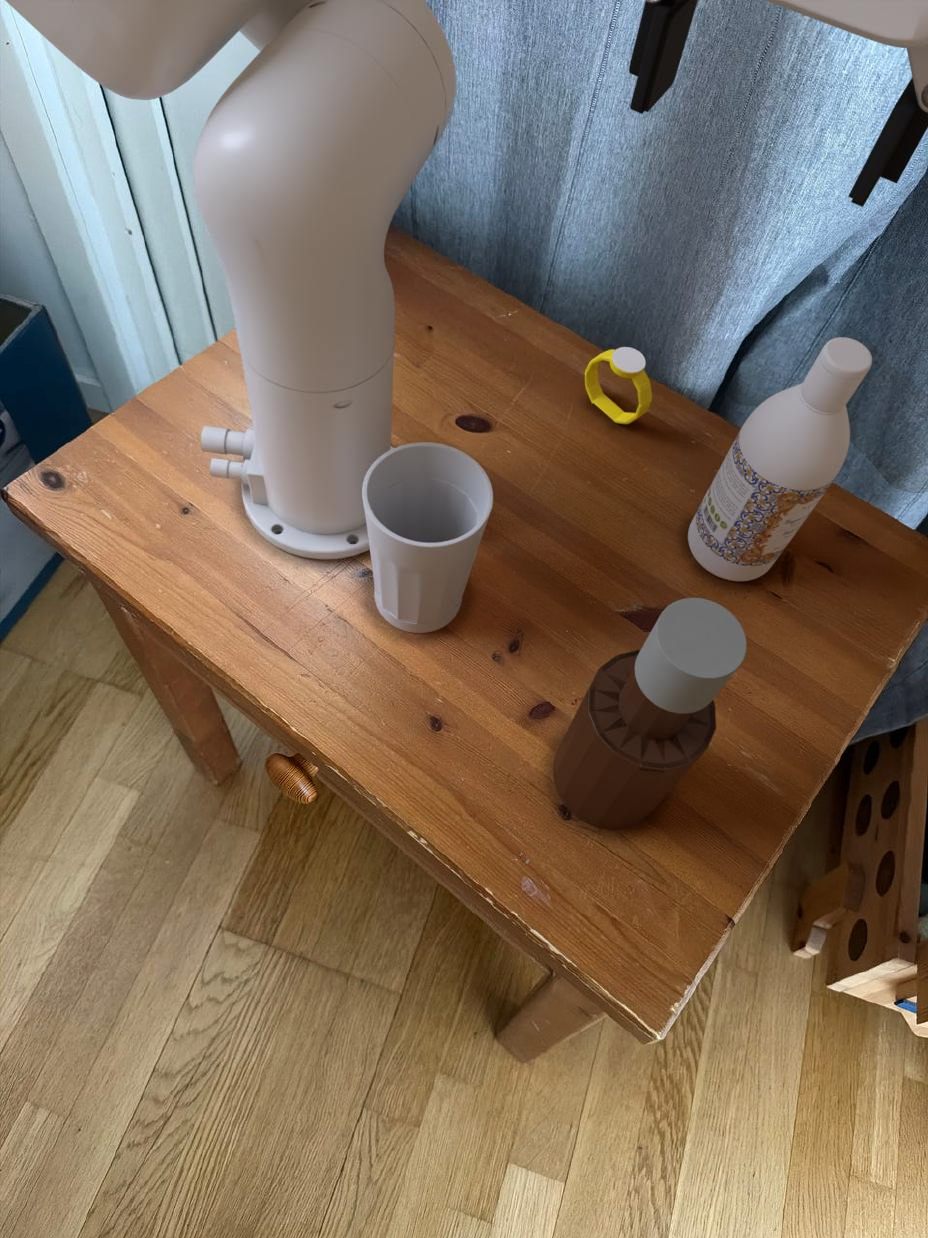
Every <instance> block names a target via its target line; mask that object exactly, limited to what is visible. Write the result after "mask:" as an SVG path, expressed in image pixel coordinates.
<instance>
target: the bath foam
mask: <svg viewBox="0 0 928 1238" xmlns="http://www.w3.org/2000/svg"><path fill="white" fill-rule="evenodd" d="M819 352H820V353H819V354H818V355H817V358H816V359H815V361H814V363H813V364H812V366H811V367H810V369H809V371H808V373H807V375H806V376H805V379H804V380H803V382H801V383H798V384H796V385H793V386H790V387H788V388H785V389H783V390H781V391H778V392H776V393H775V394H773V395H771V396H769V397H768V398H767V399H765V400H764V401H762V402H761V403H760V404H759V405H758V406H757V407H756V408H755V409H754V410H753V411H752V412H751V414H750V415H749V416H748V417H747V418H746V419H745V421H744V422H743V424H742V426H741V428H740V429H739V431H738V433H737V435H736V436H735V439H734V441H733V442H732V444H731V447H730V448H729V450H728V452H727V453H726V456H725V457H724V459H723V461H722V463H721V465H720V467H719V469H718V471H717V472H716V474H715V476H714V478H713V480H712V482H711V484H710V486H709V488H708V489H707V491H706V493H705V495H704V497H703V499H702V501H701V502H700V504H699V506H698V509H697V510H696V513H695V515H694V516H693V518H692V520H691V523H690V525H689V528H688V533H687V542H688V546H689V549H690V552H691V554H692V556H693V557H694V559H695V560H696V562H698V564H699V565H700V566H701V567H702V568H703V569H705V570H706V571H707V572H709V573H711V574H712V575H714V576H716V577H717V578H721V579H723V580H727V581H732V582H749V581H751V580H755V579H759V578H760V577H762V576H763V575H765V574H766V573H768V571H769V570H770V569H771V568H772V567H773V566H774V564H775V563H776V561H777V560H778V559H779V558H780V556H781V554H782V553H784V551H785V549H786V548H787V547H788V545H789V543H790V542H791V541H792V540H793V538H794V537H795V535H796V534H797V532H798V531H799V530H800V528H801V526H803V524H804V523H805V522H806V520H807V519H808V517H809V516H810V514H811V513H812V512H813V510H814V509H815V507H816V506H817V504H818V503H819V502H820V500H821V499H822V497H823V496H824V495H825V493H826V492H827V491H828V489H829V488H830V486H831V485H832V484H833V482H834V481H835V479H837V476H839V473H840V471H841V469H842V467H843V465H844V463H845V461H846V458H847V454H848V451H849V449H850V441H851V427H850V419H849V415H848V408H847V404H848V402H849V401H850V399H851V398H852V397H853V396H854V394H855V392H856V391H857V389H858V388H859V386H860V384H861V383H862V381H863V380H864V378H865V377H866V375H867V374H868V372H869V370H870V369H871V367H872V365H873V355H872V354H871V352H870V350H869V349H868V348H867V347H866V346H865V345H864V343H861V342H860V341H858V340H856V339H853V338H851V337H843V336H840V337H839V336H838V337H834V338H831V339H830V340H828V341H826V343H825V344H824V346H823V347H822V348H821V351H819Z"/></svg>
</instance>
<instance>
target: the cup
mask: <svg viewBox="0 0 928 1238" xmlns="http://www.w3.org/2000/svg"><path fill="white" fill-rule="evenodd" d="M393 448H394V449H392V450H390V451H388V452H386V453H385V454H383V455H382V456H380V457H379V458H378V459H377V460H376V461H375V462H374V463H373V464H372V466H371V467H370V468H369V470H368V472H367V474H366V476H365V479H364V482H363V487H362V497H363V504H364V510H365V517H366V524H367V530H368V538H369V546H370V550H369V552H370V561H371V569H372V576H373V577H372V578H373V583H374V602H375V605H376V608H377V610H378V612H379V614H380V615H381V616H382V617H383V619H384V620H385V621H387V622H388V623H389V624H390V625H392V626H393V627H394V628H397V629H399V630H401V631H404V632H408V633H414V634H427V633H431V632H432V633H433V632H435V631H438V630H441V629H442V628H444V627H446V626H447V625H449V624H450V623H451V622H452V621H453V620H454V619H455V618H456V616H457V614H458V613H459V611H460V609H461V606H462V602H463V595H464V593H465V589H466V587H467V583H468V581H469V580H468V579H469V578H470V574H471V571H472V568H473V565H474V561H475V559H476V555H477V554H478V550H479V547H480V544H481V541H482V538H483V535H484V533H485V532H484V531H485V530H486V527H487V523H488V521H489V518H490V516H491V514H492V513H491V512H492V510H493V506H494V489H493V485H492V482H491V480H490V478H489V476H488V474H487V473H486V471H485V469H484V468H483V467H482V466H481V464H479V463H478V462H477V461H476V459H474V458H473V457H472V456H470V455H469V454H467V453H466V452H464V451H462V450H460V449H458V448H456V447H453V446H450V445H447V444H444V443H438V442H430V441H421V442H420V441H419V442H417V441H416V442H411V443H406V444H402V445H398V446H396V447H393Z"/></svg>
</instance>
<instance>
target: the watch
mask: <svg viewBox="0 0 928 1238" xmlns="http://www.w3.org/2000/svg"><path fill="white" fill-rule="evenodd" d="M602 361H604V362H609V367H610V369H611V370H612V372H613V373H614V374H615V375H617V376H619V377H621V378H622V379H623V378H624V379H627V380H631V381H632V383H633V385H634V387H635V388H636V389H635V390H636V392H637V399H638V406H637V408H636V412H625V411H624V410H623V409H622V408H621V407H619V406H618V404H616V403H615V402H614V401H613V400H612V399H610V398H609V397H608V396H607V395H606V394H604V391H603V389H602V387H601V384H600V382H599V373H598V372H599V369H598V367H600V364H601V362H602ZM646 363H647V362H646V358H645V356H644V355H643V353H641V351H639V350H637V349H636V348H633V347H631V346H621V347H617V348H616V349H607V350H606V351H603V352H601V353H599V354H598V355H596V356H595V357H593V358H592V359H591V360H590V361H589V362H588V364H587V366H586V368H585V371H584V387H585V391H586V393H587V395H588V398H589V400H590V403H591V404H593V405H595V406H596V407H597V408H598V409H599V410H600V411H601V412H603V413H604V414H605V415H606V416H607V417H608V418H610V419H611V421H613V422H614V423H615V424H621V425H629V424H631V423H633V422H634V421H636V420H638V419H639V418H641V417H642V416H643V415H644V414H646V413H647V412H648V411H649V408H650V406H651V403H652V401H653V394H652V384H651V381H650V379H649V377H648V375H647V373H646V370H645V368H646V365H647V364H646Z"/></svg>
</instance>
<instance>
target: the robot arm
mask: <svg viewBox="0 0 928 1238" xmlns="http://www.w3.org/2000/svg"><path fill="white" fill-rule="evenodd" d="M4 1H5V2H6V3H7V4H8V5H9V6H10V7H12V9H14V11H16V13H18V14H19V15H20V16H21V17H22V18H23V19H24V20H26V22H27V23H28V24H30V25H31V26H32V27H33V28H34V29H35V30H36V31H37V32H38V33H39V34H40V35H42V37H44V38H45V39H46V40H47V41H48V42H49V43H50V44H51V45H52V46H54V47H55V48H56V49H57V50H58V51H59V52H60V53H61V54H62V55H63V56H65V57H66V58H67V60H69V61H70V62H71V63H73V64H74V65H75V66H76V67H77V68H79V70H80V71H82V72H83V73H84V74H86V75H87V76H88V77H90V78H91V79H92V80H94V81H95V82H97V84H99V85H101V86H102V87H103V88H105V89H107V90H109V91H110V92H112V93H114V94H116V95H117V96H120V97H122V98H126V99H129V100H138V101H139V100H140V101H151V100H156V99H159V98H161V97H164V96H166V95H168V94H171V93H173V92H175V91H176V90H177V89H179V88H180V87H182V86H183V85H184V84H186V83H187V82H189V81H190V80H192V78H193V77H194V76H196V74H198V73H199V72H200V71H201V70H202V69H203V68H204V67H205V66H206V65H207V64H208V63H209V62H210V61H211V60H212V59H213V58H214V57H215V56H216V55H217V54H218V53H219V52H220V51H221V50H222V49H223V48H224V47H225V46H226V45H227V44H228V43H229V42H230V41H231V40H232V39H233V38H234V37H235V35H237V34H238V33H240V34H241V35H242V36H243V37H244V38H246V39H247V40H248V41H249V43H251V44H252V46H254V47H255V48H256V49H257V51H258V52H259V53H257V54H256V56H255V57H254V58H253V59H252V60H251V61H250V62H249V64H247V65H246V67H245V68H244V69H243V70H242V71H241V72H240V73H239V75H238V76H237V77H236V78H235V79H234V80H233V81H232V83H231V84H230V85H229V86H228V87H227V88H226V90H225V91H224V92H223V93H222V95H221V96H220V98H219V99H218V101H217V102H216V103H215V105H214V107H213V108H212V109H211V111H210V113H209V115H208V117H207V119H206V120H205V124H204V125H203V127H202V129H201V132H200V134H199V137H198V139H197V143H196V147H195V150H194V154H193V155H194V156H193V163H192V183H193V190H194V196H195V201H196V204H197V207H198V210H199V213H200V216H201V218H202V221H203V224H204V226H205V229H206V231H207V233H208V236H209V238H210V240H211V243H212V246H213V248H214V250H215V253H216V255H217V258H218V261H219V262H220V263H219V264H220V266H221V270H222V273H223V275H224V279H225V283H226V287H227V291H228V295H229V299H230V306H231V310H232V316H233V321H234V326H235V332H236V333H235V334H236V338H237V345H238V348H239V351H240V357H241V363H242V369H243V376H244V382H245V387H246V388H245V389H246V393H247V399H248V400H247V401H248V406H249V414H250V418H251V425H252V427H247V429H246V430H245V432H244V431H237V430H230V428H226V427H220V426H211V425H204V426H203V428H202V430H201V435H200V448H201V451H202V452H204V453H210V454H211V453H212V454H219V455H225V456H226V455H233V456H234V455H235V456H241V457H243V459H244V461H243V462H241V461H234V460H232V459H225V458H218V457H212V459H211V460H210V465H209V473H210V476H211V477H212V478H219V479H228V480H229V479H234V480H241V487H240V488H241V496H242V502H243V506H244V511H245V513H246V516H247V517H248V519H249V521H250V524H251V525H252V526H253V528H254V529H255V530H256V531H257V532H258V533H259V534H260V536H262V538H263V539H265V540H266V541H268V542H269V543H270V544H272V545H273V546H274V547H276V548H278V549H280V550H283V551H284V552H286V553H288V554H291V555H295V556H298V557H302V558H305V559H306V558H307V559H313V560H314V559H316V560H339V559H345V558H349V557H354V556H357V555H360V554H362V553H365V552H368V551H370V546H369V538H368V530H367V524H366V517H365V510H364V504H363V497H362V487H363V482H364V479H365V476H366V474H367V472H368V470H369V468H370V467H371V466H372V464H373V463H374V462H375V461H376V460H377V459H378V458H379V457H380V456H382V455H383V454H385V453H386V452H388V451H390V450H392V449H394V448H395V447H394V446H392V422H393V421H392V420H393V394H394V393H393V392H394V391H393V390H394V366H395V365H394V362H395V332H396V331H395V330H396V310H395V309H396V307H395V306H396V304H395V303H396V302H395V294H394V287H393V283H392V279H391V277H390V275H389V272H388V270H387V267H386V263H385V245H386V239H387V235H388V232H389V229H390V225H391V223H392V220H393V217H394V215H395V213H396V212H397V210H398V208H399V207H400V204H402V201H403V200H404V198H405V197H406V195H407V194H408V192H409V191H410V189H411V187H412V186H413V183H414V181H415V179H416V177H417V176H418V174H419V173H420V171H421V170H422V168H423V167H424V165H425V164H426V162H427V161H428V159H429V158H430V156H431V155H432V153H433V152H434V150H435V148H436V147H437V145H438V143H439V141H440V140H441V138H442V136H443V134H444V132H445V131H446V129H447V126H448V124H449V122H450V119H451V118H452V117H451V116H452V114H453V110H454V107H455V103H456V96H457V71H456V66H455V60H454V57H453V53H452V49H451V46H450V43H449V42H448V38H447V36H446V35H445V32H444V30H443V28H442V26H441V24H440V22H439V21H438V19H437V18H436V16H435V14H434V13H433V11H432V10H431V7H430V6H429V5H428V3H427V2H426V0H4ZM698 1H699V0H644V6H643V9H642V13H641V17H640V21H639V24H638V25H639V26H638V29H637V33H636V37H635V40H634V41H635V42H634V46H633V50H632V54H631V58H630V62H629V67H628V72H629V74H630V75H633V76H635V77H637V79H636V81H635V82H636V83H635V86H634V90H633V94H632V98H631V101H630V106H629V109H630V110H631V111H634V112H636V113H638V114H640V115H642V114H644V113H649V112H650V110H651V109H653V107H654V106H655V105H656V104H657V103H658V102H659V101H660V100H661V98H662V97H663V96H664V95H665V94H666V93H667V91H669V90H670V88H671V87H672V86H673V84H674V82H675V80H676V77H677V73H678V70H679V66H680V63H681V61H682V60H681V59H682V56H683V53H684V50H685V46H686V43H687V40H688V36H689V32H690V29H691V26H692V22H693V18H694V15H695V12H696V8H697V5H698ZM765 1H766V2H769V3H772V4H774V5H777V6H779V7H782V8H785V9H788V10H790V11H793V12H795V13H798V14H800V15H802V16H805V17H808V18H810V19H813V20H816V21H819V22H821V23H824V24H826V25H829V26H831V27H834V28H837V29H840V30H842V31H844V32H846V33H847V32H848V33H851V34H852V35H855V36H858V37H861V38H864V39H867V40H868V41H872V42H875V43H878V44H881V45H885V46H889V47H894V48H901V49H906V53H907V57H908V58H907V59H908V62H909V67H910V72H911V76H912V77H911V78H910V80H909V82H908V83H907V84H906V86H905V88H904V89H903V91H902V93H901V95H900V96H899V97H898V99H897V101H896V103H895V104H894V106H893V108H892V110H891V112H890V114H889V116H888V118H887V120H886V121H885V123H884V126H883V127H882V129H881V131H880V133H879V135H878V137H877V139H876V141H875V143H874V145H873V147H872V148H871V151H870V153H869V155H868V157H867V159H866V161H865V163H864V164H863V167H862V168H861V170H860V172H859V174H858V176H857V178H856V180H855V182H854V184H853V186H852V188H851V190H850V192H849V194H848V196H847V198H850V199H851V201H850V203H852V204H854V205H857V206H859V207H862V208H863V207H865V204H866V203H867V201H868V199H869V198H870V196H871V195H872V192H873V191H874V189H875V187H876V185H877V184H878V182H879V180H880V178H882V179H885V180H886V181H890V182H892V183H894V184H898V182H899V180H900V178H901V176H902V175H903V173H904V171H905V170H906V168H907V166H908V164H909V163H910V160H911V159H912V157H913V155H914V154H915V152H916V150H917V148H918V147H919V144H920V142H921V141H922V140H923V137H924V135H925V134H926V132H927V130H928V0H765Z"/></svg>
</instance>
